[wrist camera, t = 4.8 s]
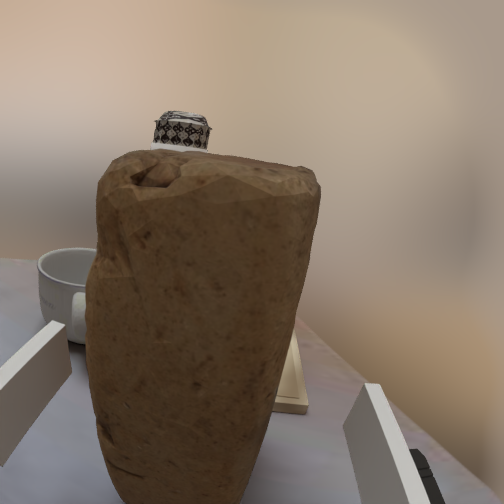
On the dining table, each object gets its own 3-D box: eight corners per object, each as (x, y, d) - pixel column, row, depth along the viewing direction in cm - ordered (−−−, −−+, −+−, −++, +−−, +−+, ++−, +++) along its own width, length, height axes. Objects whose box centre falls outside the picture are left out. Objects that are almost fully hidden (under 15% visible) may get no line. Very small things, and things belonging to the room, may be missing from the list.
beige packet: (149, 388, 25) (149, 377, 24) (182, 316, 38) (183, 307, 38) (304, 414, 25) (308, 404, 25) (292, 336, 39) (294, 327, 38)
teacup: (59, 301, 34) (57, 241, 32) (138, 311, 37) (141, 250, 35) (20, 367, 21) (5, 290, 19) (127, 385, 24) (125, 307, 22)
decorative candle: (197, 300, 43) (227, 117, 37) (132, 297, 40) (154, 105, 33) (187, 275, 52) (211, 121, 45) (132, 272, 48) (151, 112, 41)
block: (223, 549, 12) (350, 172, 6) (106, 506, 12) (61, 132, 7) (255, 435, 22) (324, 173, 16) (167, 409, 23) (194, 149, 17)
